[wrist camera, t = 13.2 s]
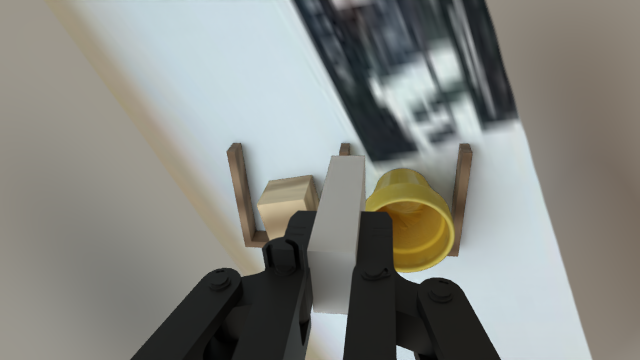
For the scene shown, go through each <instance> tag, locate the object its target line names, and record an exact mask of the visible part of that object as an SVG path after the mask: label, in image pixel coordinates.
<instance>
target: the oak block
mask: <svg viewBox="0 0 640 360" xmlns="http://www.w3.org/2000/svg"><path fill="white" fill-rule="evenodd" d="M318 206H319V199H318V195H317V192H316V188H315V185H314V181H313V178H312V175H307V176H300V177H293V178H286V179H279V180H272V181H269V182H268V184H267V186H266V188H265V190H264V192H263V194H262V196H261V198H260V200H259V202H258V203H257V208H258V210H259V213H260V216H261V218H262V221H263V224H264V226H265V229H266V232H267V235H268V237H269V240H272V239H275V238H278V237H283V236H284V235H285V231H286V228H287V225H288V222H289V219H290V217H291V216H292V215H294V214H295V213H296V212H297V211H298V210H302V211H317V210H318Z"/></svg>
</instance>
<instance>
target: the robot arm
mask: <svg viewBox="0 0 640 360" xmlns="http://www.w3.org/2000/svg"><path fill="white" fill-rule="evenodd" d="M365 207H366V201H365V156H331V160H330V164H329V168H328V172H327V175H326V179H325V183H324V187H323V191H322V195H321V199H320V202H319V206H318V210H317V211H302V210H298V211H297V212H296V213H295V214H294V215H292V216H291V217H290V219H289V222H288V225H287V228H286V231H285V235H284V236H283V237H278V238H275V239H272V240H270V241H269V242H267V243H266V244H265V245H264V246H263V248H262V252H263V257H264V263H265V271H263V272H261V273H258V274H254V275H249V276H244V277H241V276H240V274H239V273H238V272H237V271H236V270H234V269H232V268H221V269H216V270H214V271H212V272H209V273H208V274H207V275H206V276H204V277H203V278H202V279H201V281H200V282H199V283H198V284H197V285H196V286H195V287H194V288H193V290H192V291H191V292H190V293H189V294H188V295H187V296H186V297H185V299H184V300H183V301H182V302H181V303H180V304H179V305H178V306H177V308H176V309H175V310H174V311H173V312H172V313H171V314H170V316H169V317H168V318H167V319H166V320H165V321H164V322H163V323H162V325H161V326H160V327H159V328H158V329H157V330H156V331H155V332H154V334H153V335H152V336H151V337H150V338H149V339H148V340H147V341H146V343H145V344H144V345H143V346H142V347H141V348H140V349H139V350H138V352H137V353H136V354H135V355H134V356H133V357H132V358H131V360H305V355H306V350H307V345H308V340H309V335H310V330H311V315H310V313H311V308H312V303H313V312H316V313H331V314H346V315H348V317H347V327H346V336H345V345H344V355H343V360H397V358H396V345H398V346H401V347H403V348H406V349H408V350H411V351H414V356H415V359H416V360H501V359H500V357H499V355H498V353H497V352H496V350H495V348H494V346H493V344H492V343H491V341H490V339H489V337H488V335H487V333H486V332H485V330H484V328H483V326H482V324H481V323H480V321H479V319H478V317H477V315H476V314H475V312H474V310H473V308H472V306H471V305H470V303H469V301H468V299H467V297H466V296H465V294H464V292H463V290H462V289H461V288H460V287H459V286H458V285H457V284H456V283H454V282H452V281H451V280H448V279H444V278H430V279H426V280H424V281H423V282H422V283H421V284H417V283H414V282H411V281H408V280H406V279H404V278H403V277H401V276H400V275H399V274H398V273H397V272H396V270H395V268H394V260H393V220H392V218H391V217H390V216H389V214H388V213H387V212H375V211H365Z"/></svg>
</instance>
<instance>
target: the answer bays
mask: <svg viewBox="0 0 640 360" xmlns="http://www.w3.org/2000/svg"><path fill="white" fill-rule="evenodd" d="M227 156H228V162H229V167H230V172H231V177H232V182H233V187H234V192H235V197H236V202H237V207H238V212H239V217H240V222H241V227H242V232H243V237H244V242H245V247H259V248H263V246H264V245H265V244H266V243H267V242H269V241H270V240H269V237H268V235H267V232H266V231H256V227H255V221H254V216H253V210H252V204H251V199H250V193H249V187H248V182H247V176H246V170H245V165H244V159H243V154H242V148H241V143H233V144H232V145H231V147H230V148H229V149H228V150H227ZM339 156H350V145H349V143H341V147H340V151H339ZM471 160H472V151H471V148H470V146H469V144H460V145H459V153H458V162H457V170H456V178H455V186H454V195H453V203H452V211H451V216H452V219H453V223H454V228H455V240H454V244H453V247H452V249H451V251H450V252H449V253H448V255H447V256H458V253H459V246H460V239H461V232H462V224H463V217H464V210H465V203H466V196H467V189H468V181H469V174H470V167H471Z"/></svg>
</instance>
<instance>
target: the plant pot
mask: <svg viewBox="0 0 640 360" xmlns="http://www.w3.org/2000/svg"><path fill="white" fill-rule="evenodd" d="M365 211H375V212H387V213H388V214H389V216H390V217H391V218H392V220H393V260H394V268H395V270H396V272H403V273H410V272H418V271H422V270H425V269H428V268H431V267H433V266H434V265H436V264H438V263H439V262H441V261H442V260H443V259H444V258H445V257H446V256H447V255H448V253H449V252H450V251H451V249H452V247H453V244H454V240H455V228H454V223H453V219H452V216H451V213H450V210H449V207H448V205H447V204H446V202H445V201H444V199H443V198H442V197H441V196H440V195H439V194H438V193H437V192H435V191H434V190H432V189H431V187H430V186H429V184H428V183H427V181H426V180H425V178H424V177H423V176H422V175H420V174H419V173H417V172H416V171H413V170H410V169H394V170H391V171H389V172H387V173H386V174H384V175H383V176H382V177H381V178H380V180H379V181H378V183H377V185H376V188H375V190H374V192H373V194H372V195H371V196H370V197H369V198H368V199H367V200H366V207H365Z"/></svg>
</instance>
